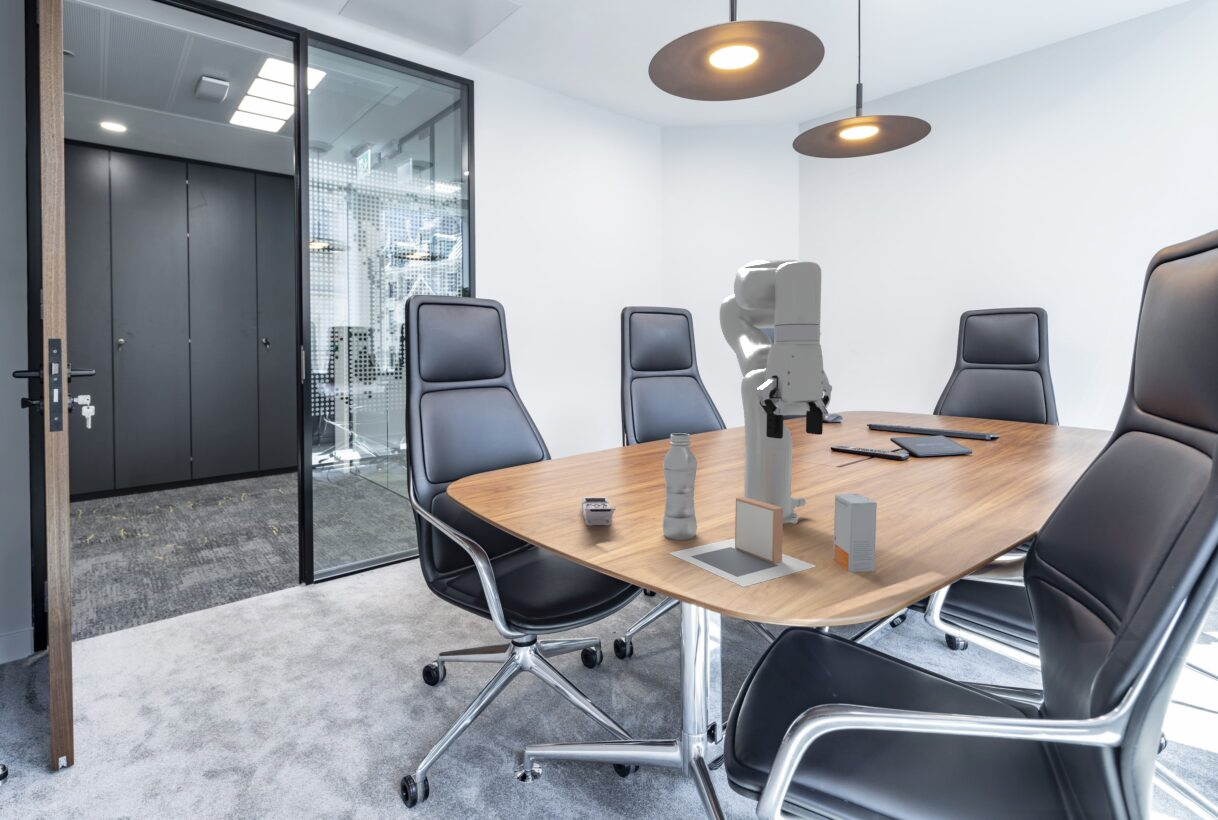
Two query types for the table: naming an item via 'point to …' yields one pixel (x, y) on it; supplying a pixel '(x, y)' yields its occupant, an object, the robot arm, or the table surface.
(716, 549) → the mat
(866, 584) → the table surface
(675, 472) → the plastic bottle
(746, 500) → the tile
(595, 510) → the mobile phone
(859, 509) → the skincare box
